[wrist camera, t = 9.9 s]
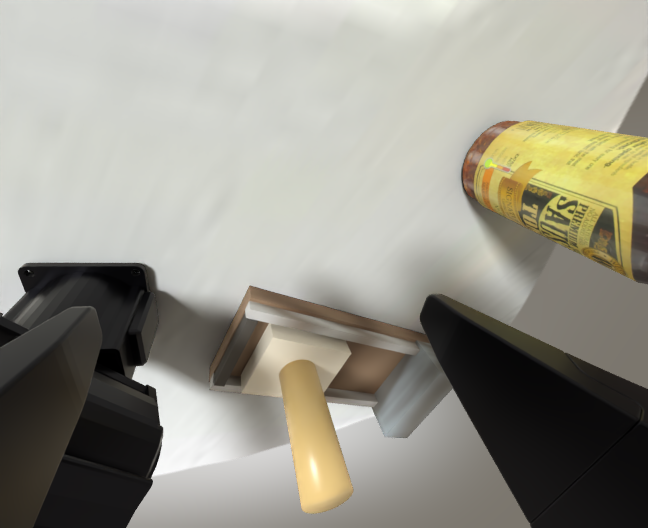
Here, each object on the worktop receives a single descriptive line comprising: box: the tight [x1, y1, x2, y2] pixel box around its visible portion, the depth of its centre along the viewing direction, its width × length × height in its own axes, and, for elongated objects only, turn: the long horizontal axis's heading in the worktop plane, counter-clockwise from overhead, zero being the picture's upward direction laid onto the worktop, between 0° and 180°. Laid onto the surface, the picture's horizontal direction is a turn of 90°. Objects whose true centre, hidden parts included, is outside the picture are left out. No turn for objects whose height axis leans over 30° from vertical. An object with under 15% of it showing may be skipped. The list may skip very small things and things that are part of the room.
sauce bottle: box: [462, 121, 648, 284], centre depth 15 cm, size 7×6×20 cm
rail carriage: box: [241, 323, 353, 514], centre depth 21 cm, size 7×6×11 cm
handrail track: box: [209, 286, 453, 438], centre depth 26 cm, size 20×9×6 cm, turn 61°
